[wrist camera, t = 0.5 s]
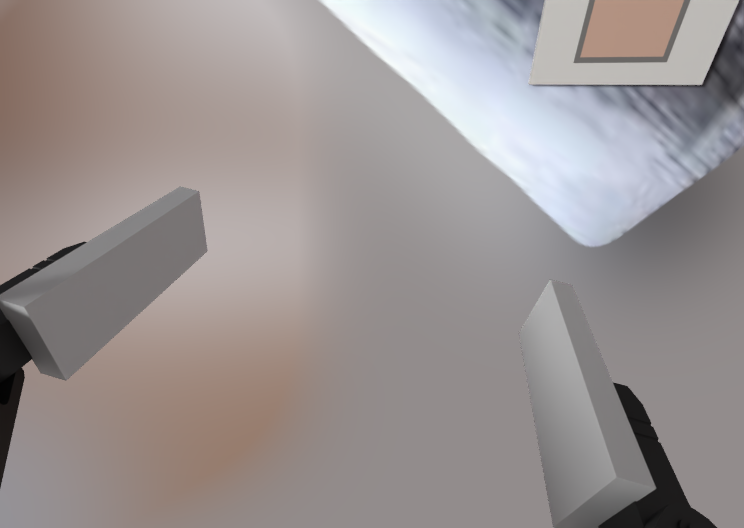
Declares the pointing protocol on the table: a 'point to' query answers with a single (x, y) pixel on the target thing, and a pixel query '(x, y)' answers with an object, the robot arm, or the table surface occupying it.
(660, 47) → the sheet
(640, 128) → the table surface
